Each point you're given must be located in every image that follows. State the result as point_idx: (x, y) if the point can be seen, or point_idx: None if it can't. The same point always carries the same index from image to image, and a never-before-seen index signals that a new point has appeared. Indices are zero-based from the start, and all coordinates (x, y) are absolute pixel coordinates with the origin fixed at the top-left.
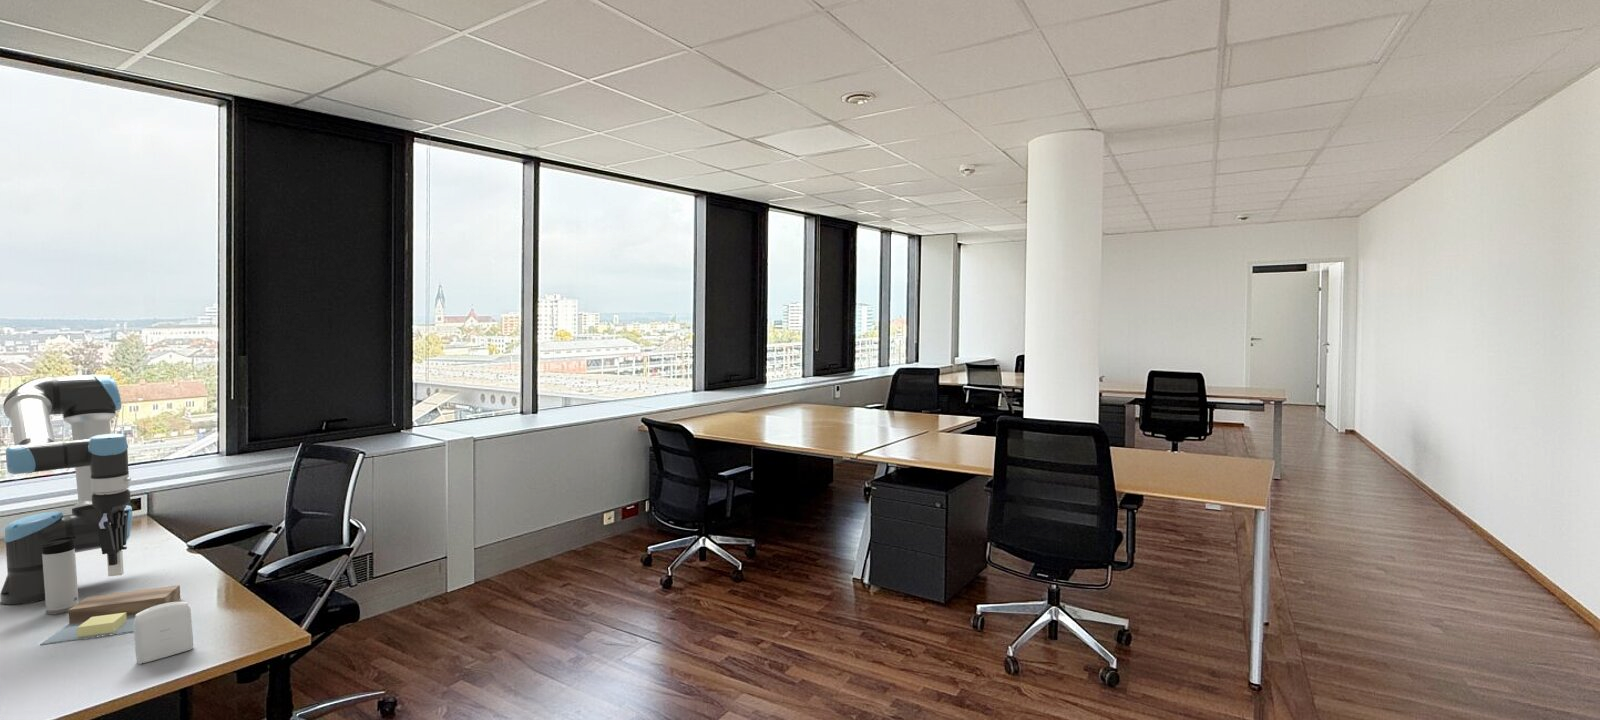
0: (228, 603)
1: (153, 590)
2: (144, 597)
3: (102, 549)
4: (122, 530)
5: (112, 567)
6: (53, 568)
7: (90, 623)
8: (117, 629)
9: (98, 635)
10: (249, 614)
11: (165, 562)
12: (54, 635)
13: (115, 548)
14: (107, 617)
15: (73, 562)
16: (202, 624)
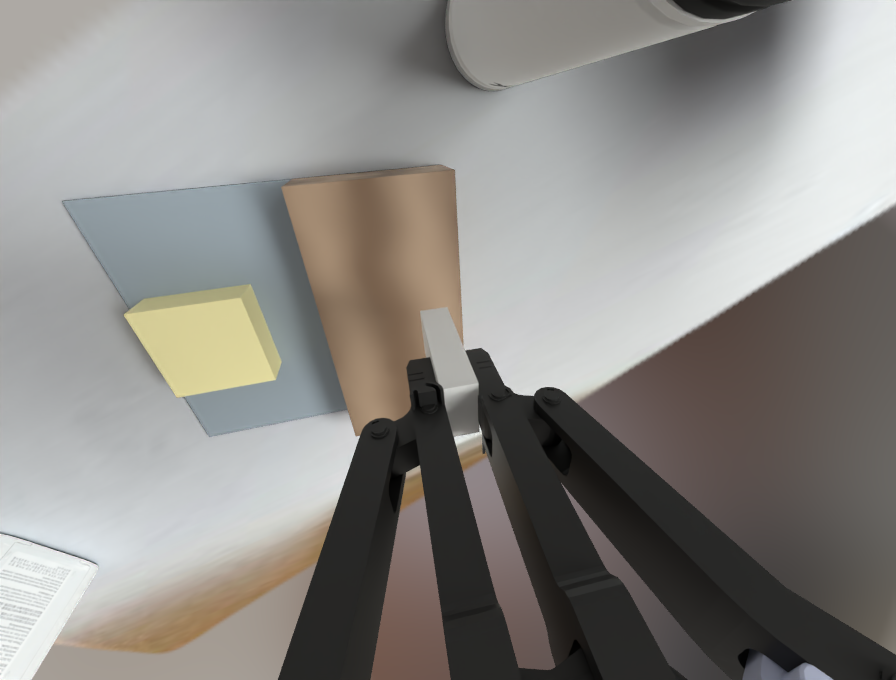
0: None
1: None
2: (373, 384)
3: (355, 458)
4: (604, 522)
5: (427, 351)
6: None
7: (168, 335)
8: None
9: None
10: (294, 555)
11: (887, 151)
12: (159, 201)
13: (404, 480)
14: (229, 353)
15: (613, 50)
16: (243, 517)
